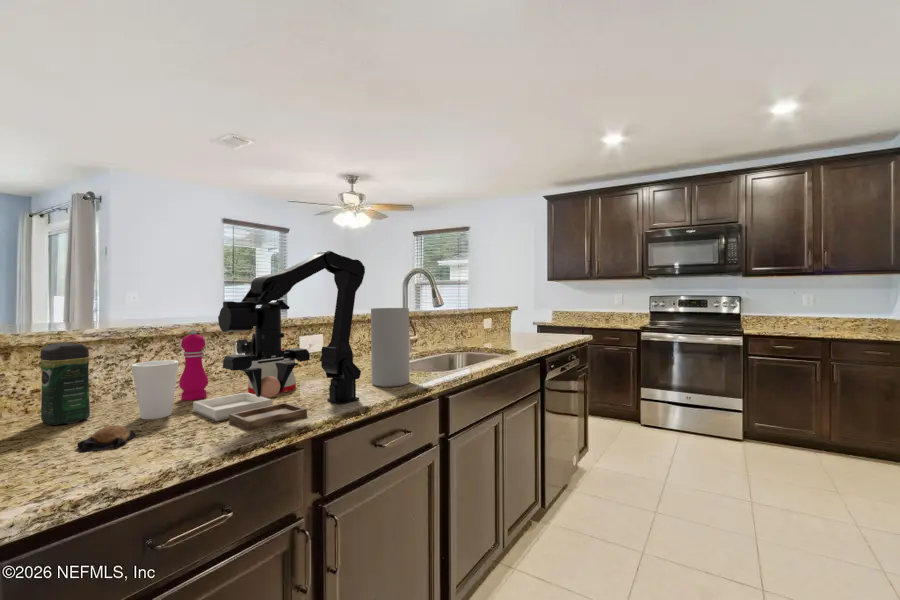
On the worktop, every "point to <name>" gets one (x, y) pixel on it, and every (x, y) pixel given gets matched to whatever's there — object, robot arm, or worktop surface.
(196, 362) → the pepper mill
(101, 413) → the worktop surface
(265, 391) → the ball
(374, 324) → the cylinder vase
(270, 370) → the grey and red dome
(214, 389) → the worktop surface
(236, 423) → the tray
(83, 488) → the worktop surface
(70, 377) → the coffee jar
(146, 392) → the foam cup
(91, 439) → the turtle figurine
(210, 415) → the dish
